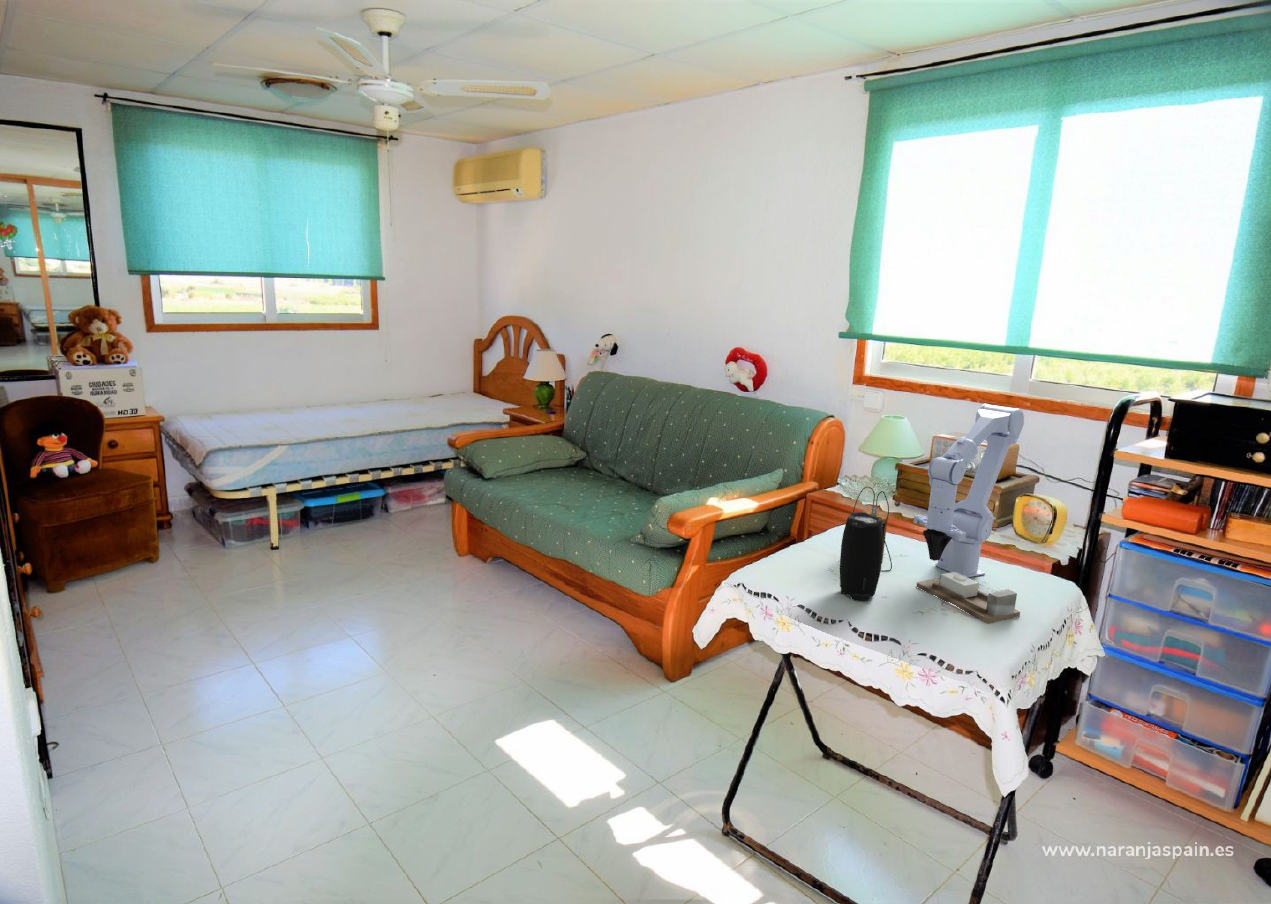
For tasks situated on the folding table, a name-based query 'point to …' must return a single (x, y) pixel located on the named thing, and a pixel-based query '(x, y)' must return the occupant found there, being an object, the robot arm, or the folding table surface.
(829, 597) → the folding table surface
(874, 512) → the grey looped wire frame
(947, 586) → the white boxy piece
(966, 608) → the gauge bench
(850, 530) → the portable speaker
